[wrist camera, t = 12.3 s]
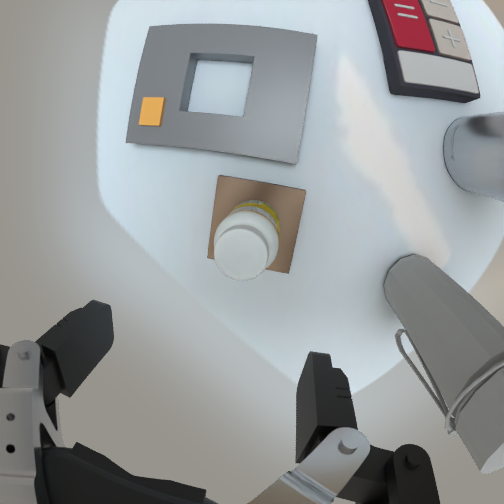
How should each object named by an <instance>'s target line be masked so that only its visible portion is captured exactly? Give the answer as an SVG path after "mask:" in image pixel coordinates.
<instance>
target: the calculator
mask: <svg viewBox="0 0 504 504" xmlns="http://www.w3.org/2000/svg"><path fill="white" fill-rule="evenodd" d="M368 2H369V5H370V9H371V12H372V15H373V19H374V22H375V25H376V29H377V32H378V36H379V39H380V43H381V47H382V51H383V55H384V64H385V69H386V74H387V80H388V85H389V91H390V93H391V94H393V95H404V96H415V97H425V98H434V99H441V100H448V101H455V102H461V103H467V102H470V101H473V100H476V99H479V98H480V92H479V87H478V83H477V79H476V75H475V71H474V67H473V63H472V60H471V56H470V53H469V49H468V46H467V43H466V40H465V37H464V34H463V32H462V29H461V27H460V24H459V21H458V18H457V16H456V13H455V11H454V9H453V6H452V4H451V2H450V0H368Z"/></svg>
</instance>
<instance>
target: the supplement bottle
mask: <svg viewBox="0 0 504 504" xmlns="http://www.w3.org/2000/svg"><path fill="white" fill-rule="evenodd" d="M279 234H280V222H279V217H278V215H277V213H276V212H275V210H274V209H273V208H272V207H271V206H270V205H268V204H267V203H264V202H262V201H258V200H249V201H245V202H243V203H241V204H239V205H238V206H236V207H235V208H234V209H233V210H232V211H231V212H230V214H228V216H227V217H226V218H225V219H224V220H223V221H222V222H221V223H220V224H219V226H218V228H217V230H216V232H215V236H214V258H215V262H216V264H217V266H218V268H219V269H220V271H221V272H222V273H223V274H225V275H226V276H228V277H230V278H232V279H235V280H242V281H244V280H250V279H253V278H255V277H257V276H258V275H259V274H260V273H261V272H262V271H263V270H265V269H266V268H267V267H269V266H270V265H271V263H272V262H273V261H274V259H275V257H276V255H277V252H278V247H279Z"/></svg>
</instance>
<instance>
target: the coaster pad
mask: <svg viewBox="0 0 504 504" xmlns="http://www.w3.org/2000/svg"><path fill="white" fill-rule="evenodd" d="M305 194H306V190H303V189H298V188H293V187H287V186H282V185H277V184H271V183H266V182H260V181H254V180H248V179H242V178H236V177H230V176H223V175H219V176H218V180H217V187H216V194H215V201H214V209H213V216H212V224H211V231H210V239H209V248H208V256H207V258H210V259H215V258H214V236H215V232H216V230H217V228H218V226H219V224H220V223H221V222H222V221H223V220H224V219H225V218H226V217H227V216H228V214H230V212H231V211H232V210H233V209H234V208H235V207H236V206H238V205H239V204H241V203H243V202H245V201H249V200H258V201H262V202H264V203H267V204H268V205H270V206H271V207H272V208H273V209H274V210H275V212H276V213H277V215H278V217H279V222H280V234H279V247H278V252H277V255H276V257H275V259H274V261H273V262H272V263H271V265H270V266H269V267H267V268H266V269H267V270H272V271H277V272H282V273H288V274H289V270H290V265H291V261H292V256H293V252H294V247H295V243H296V238H297V233H298V228H299V224H300V219H301V214H302V209H303V204H304V199H305Z"/></svg>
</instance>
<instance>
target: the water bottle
mask: <svg viewBox="0 0 504 504" xmlns="http://www.w3.org/2000/svg"><path fill="white" fill-rule="evenodd" d="M384 289H385V296H386V299H387V301H388V302H389V304H390V305H391V307H392V309H393V310H394V312H395V313H396V315H397V317H398V318H399V320H400V321H401V323H402V325H403V326H404V328H405V330H404V329H399V330H398V331H397V333H396V334H395V339H396V343H397V346H398V348H399V351H400V352H401V354H402V355H403V356H404V358H405V359H406V361H407V362H408V363H409V365H410V366H411V367H412V369H413V370H414V372H415V373H416V375H417V376H418V378H419V379H420V380H421V382H422V383H423V385H424V386H425V388H426V389H427V391H428V392H429V393H430V395H431V396H432V398H433V399H434V401H435V402H436V404H437V405H438V407H439V408H440V410H441V411H442V413H443V414H444V416H445V417H446V418H445V428H446V429H447V430H448V434H449V435H453V436H455V435H457V434H459V436H460V438H461V439H462V441H463V443H464V444H465V446H466V447H467V449H468V451H469V453H470V454H471V456H472V458H473V459H474V461H475V463H476V465H477V467H478V468H479V470H480V471H481V472H482V473H484V474H487V473H490V472H493V471H496V470H498V469H500V468H501V467H503V466H504V327H503V326H502V325H501V324H500V323H499V322H498V321H497V320H496V319H495V318H494V317H493V316H492V315H491V314H490V313H489V312H488V311H487V310H486V309H485V308H484V307H483V306H482V305H481V304H480V303H479V302H477V301H476V300H475V299H474V298H473V297H472V296H471V295H470V294H469V293H468V292H466V291H465V290H464V289H463V288H462V287H461V286H460V285H459V284H457V283H456V282H455V281H454V280H453V279H452V278H450V277H449V276H448V275H447V274H446V273H445V272H443V271H442V270H441V269H440V268H439V267H437V266H436V265H435V264H434V263H432V262H431V261H430V260H429V259H428V258H426V257H422V256H419V255H415V254H414V255H411V256H408V257H405V258H401V259H400V260H399V261H398V262H397V263H396V264H395V265H394V266H393V267H392V268H391V269H390V270H389V272H388V275H387V278H386V280H385V283H384ZM403 332H405V333H406V335H407V337H408V338H409V340H410V342H411V344H412V346H413V348H414V350H415V352H416V354H417V355H418V357H419V359H420V361H421V363H422V365H423V367H424V369H425V371H426V373H427V375H428V377H429V379H430V381H431V383H432V385H433V388H434V390H435V392H436V394H437V396H438V398H439V400H438V398H437V397H436V396H435V394H434V393H433V391H432V390H431V388H430V387H429V385H428V384H427V382H426V381H425V379H424V378H423V377H422V375H421V374H420V372H419V371H418V369H417V368H416V367H415V365H414V364H413V362H412V361H411V360H410V358H409V357H408V356H407V354H406V353H405V351H404V348H403V346H402V343H401V338H400V336H401V334H402V333H403ZM440 392H441V393H440ZM441 394H442V395H441ZM442 396H443V397H442ZM443 398H444V399H443ZM444 400H445V401H444ZM445 402H446V404H447V406H448V408H449V410H448V408H447V406H446V404H445ZM451 414H452V415H453V416H454V417H455V418H452V417H451Z"/></svg>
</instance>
